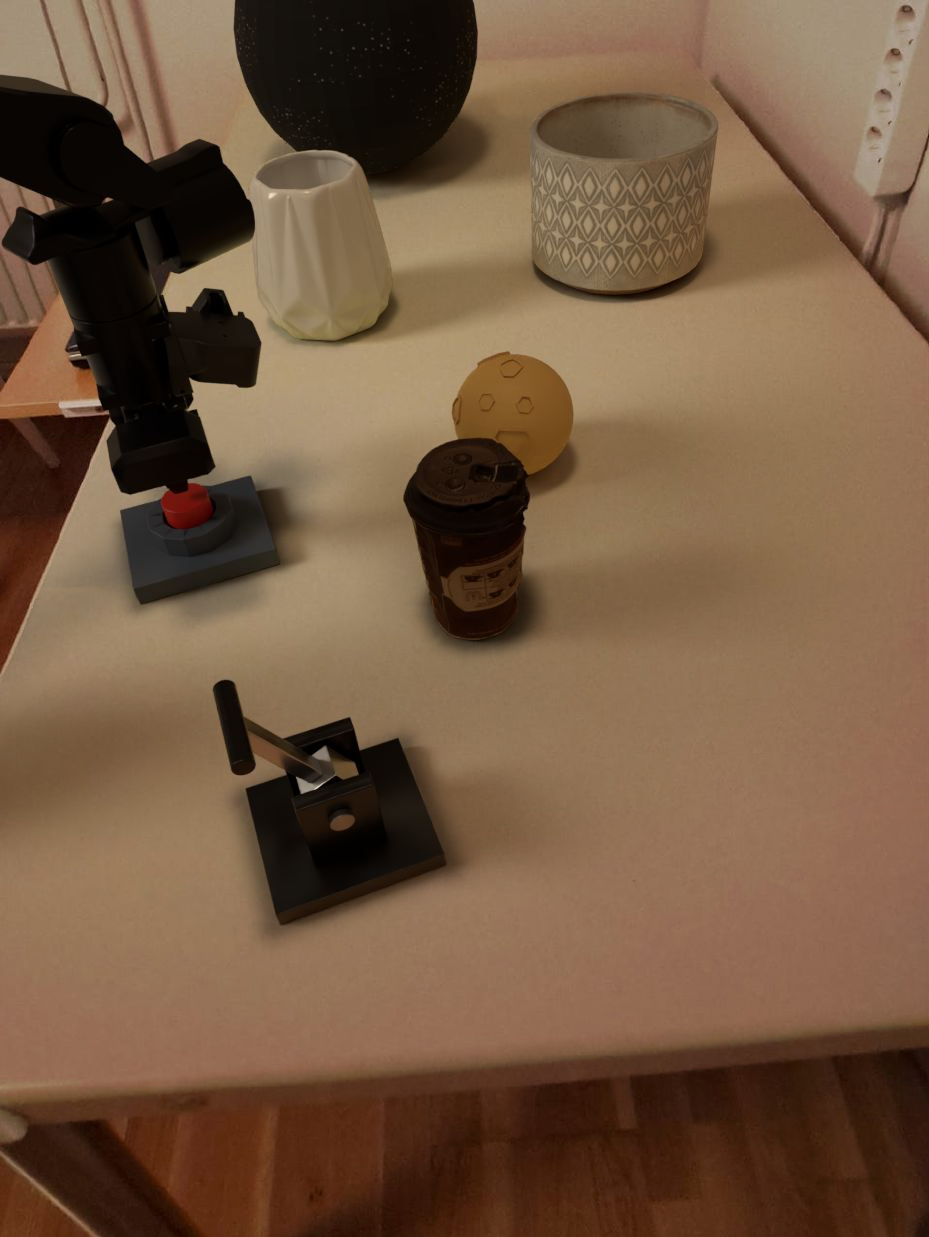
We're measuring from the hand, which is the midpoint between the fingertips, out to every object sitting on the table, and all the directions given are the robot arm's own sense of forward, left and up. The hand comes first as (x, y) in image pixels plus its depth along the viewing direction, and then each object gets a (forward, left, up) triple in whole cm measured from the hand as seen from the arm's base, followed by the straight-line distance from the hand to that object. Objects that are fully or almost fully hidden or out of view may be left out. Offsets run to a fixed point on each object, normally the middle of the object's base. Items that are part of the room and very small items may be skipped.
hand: (181, 490), depth 72 cm
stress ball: (+27, -1, -6) cm, 28 cm away
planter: (+51, +28, -6) cm, 59 cm away
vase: (+19, +31, -6) cm, 37 cm away
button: (0, 0, -3) cm, 3 cm away
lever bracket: (+4, -30, -6) cm, 31 cm away
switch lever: (+1, -30, +2) cm, 30 cm away
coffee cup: (+18, -16, -6) cm, 25 cm away
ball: (+35, +68, -6) cm, 77 cm away
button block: (0, 0, -6) cm, 6 cm away
